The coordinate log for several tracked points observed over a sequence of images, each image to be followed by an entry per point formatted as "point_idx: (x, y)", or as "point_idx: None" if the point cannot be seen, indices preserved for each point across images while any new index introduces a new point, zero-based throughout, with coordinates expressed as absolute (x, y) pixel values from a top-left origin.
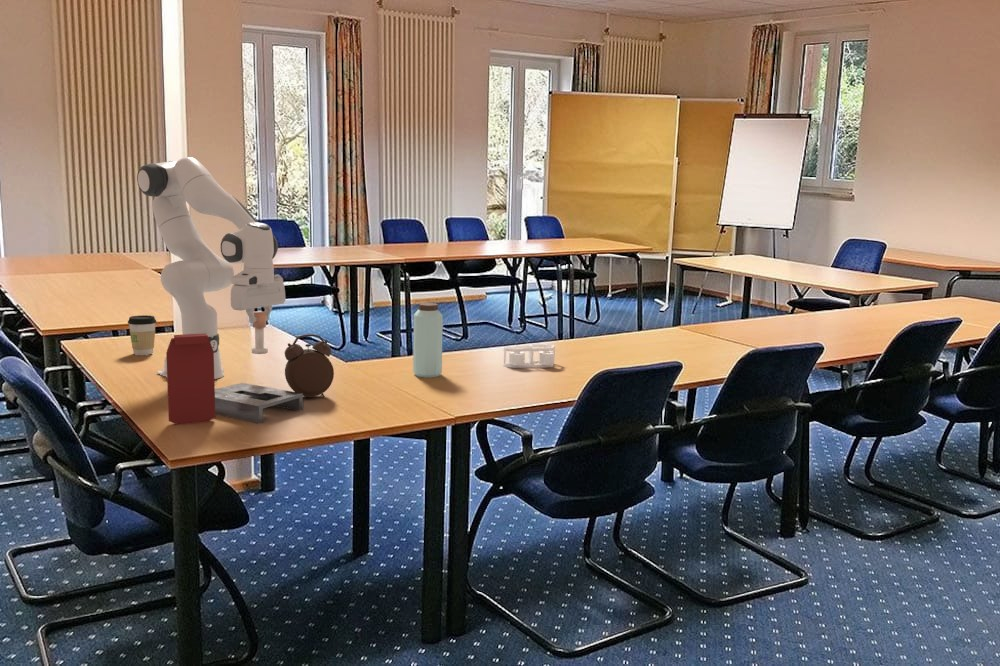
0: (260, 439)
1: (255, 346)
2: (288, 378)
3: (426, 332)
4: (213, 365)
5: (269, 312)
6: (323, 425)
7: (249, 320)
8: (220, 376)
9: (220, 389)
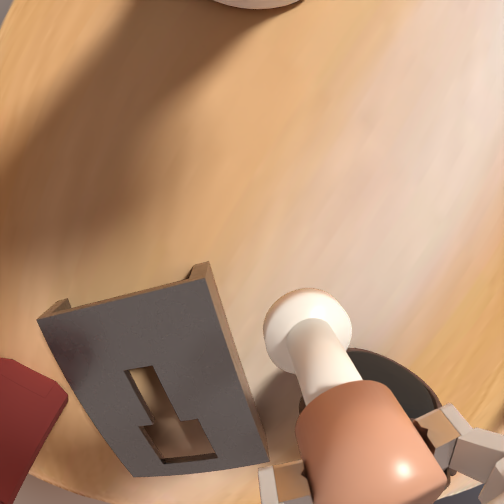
0: (113, 490)
1: (288, 340)
2: (300, 411)
3: None
4: (21, 482)
5: (471, 472)
6: (230, 499)
7: (259, 481)
8: (290, 1)
9: (104, 318)
